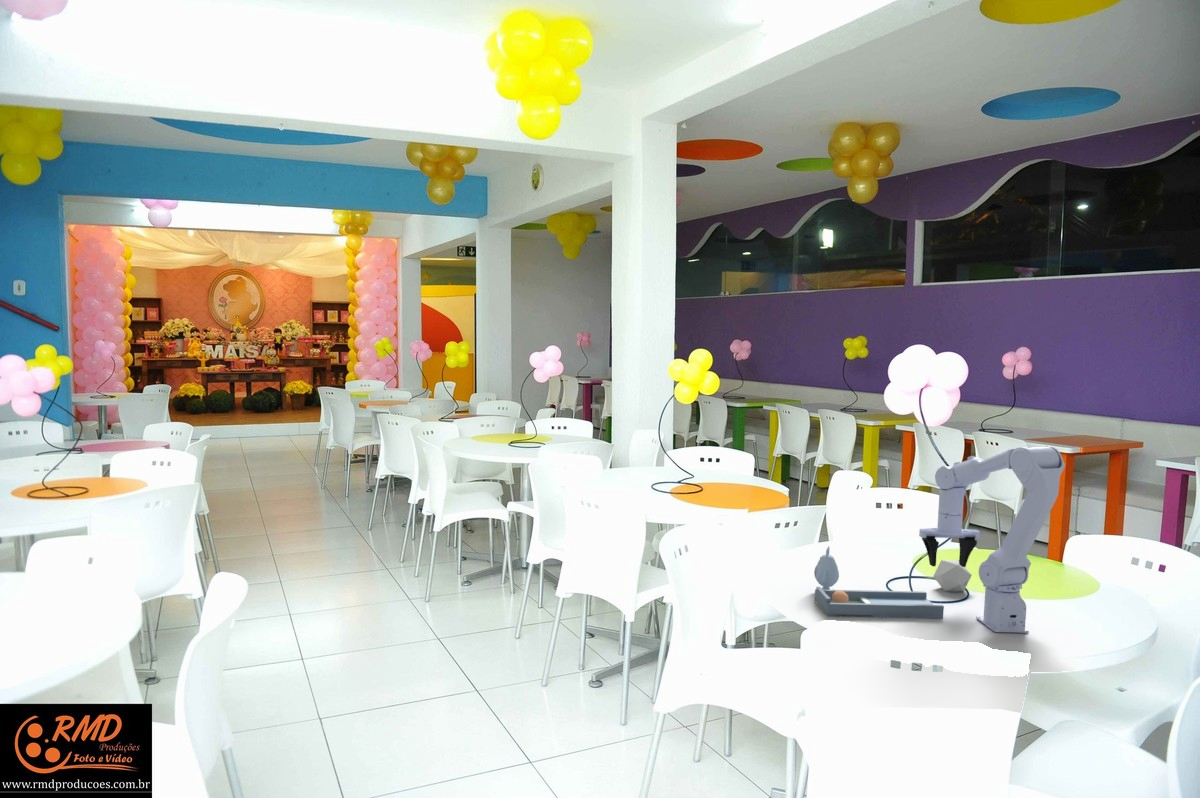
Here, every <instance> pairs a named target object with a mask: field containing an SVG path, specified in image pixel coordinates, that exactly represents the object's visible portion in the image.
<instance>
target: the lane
mask: <svg viewBox="0 0 1200 798" xmlns="http://www.w3.org/2000/svg"><path fill="white" fill-rule="evenodd" d="M836 591H843V592H845V593H846V594H847V595H848V599H849V600H848V603H833V602H832V595H833V593H834V592H836ZM927 594H928V593H927V592H926V591H921V590H920V591H915V590H914V591H913V590H912V591H910V590H909V591H907V590H905V591H904V590H869V589H868V590H866V589H865V590H863V589H861V590H860V589H859V590H858V589H857V590H856V589H830V590H823V589H822V587H821V586H816V587H815V589H814V602H815V601H816V602H817V603H816V602H815V603H816V605H817V604H818V605H819V606H818V605H817V606H818V607H819V608H820V610H821V611H822V612H823V613H824V615H825V616H826V615H827V616H826V617H840V616H841V618H842V617H843V618H844V617H846V618H848V617H850V618H851V617H852V618H858V617H859V618H895V619H896V618H899V619H902V618H903V619H904V618H905V619H907V618H908V619H909V618H910V619H944V612H945V611H944V610H945V606H944V605H943V604H934V603H933V602H931V601H930V600H929V599H928V598H927ZM911 617H913V618H911Z"/></svg>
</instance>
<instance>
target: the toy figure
mask: <svg viewBox="0 0 1200 798" xmlns="http://www.w3.org/2000/svg"><path fill="white" fill-rule="evenodd" d="M813 574H814V578H815V580H816V581H817V583H818V584H819V586H820V587H821V586H822V587H821V588H822V589H823V590H831V589H830V588H831V587H833V586H834V585H835V584H836V583H837V582H838V581H839V577H840V573H839V567H838V564H837V562H836V559H835V557H834V556H833V555H831V554H830V546H829V545H828V546H827V548H826V551H825V554H823V555H821V556H820V557H819V560H818V562H817V564H816V566H815V567H814V573H813Z"/></svg>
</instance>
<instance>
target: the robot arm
mask: <svg viewBox="0 0 1200 798" xmlns="http://www.w3.org/2000/svg"><path fill="white" fill-rule="evenodd" d="M1065 467H1066V464H1065V462H1064V459H1063V456H1062V453H1061V452H1060V451H1059V449H1057V448H1056V447H1055V446H1051V445H1046V446H1036V447H1024V446H1019V447H1016V448H1010V449H1008V450H1006V451H1003V452H1001V453H997V454H994V455H992V456H990V457H987V458H985V459H984V458H981V457H978V456H977V457H976V456H974V455H973V456H972V455H971V456H968V457H967V460H964V461H962V462H960V461H955V462H954V463H953V465H950V466H946V465H942V466H941V467H938V468H937V470H936V471H935V474H934V480H935V484H936V485H937V487H939V491H938V509H937V510H938V513H937V527H931V528H930V527H929V528H919V534H918V535H919V537H920V538H921V540H922V542H923V544H924V546H925V548H926V552H927V556H928V561H929V565H930V566H932V567H936V565H937V553H938V547H939V544H940V542H939V541H938V540H937V538H940V539H942V538H943V539H948V538H950V539H958V542H959V543H958V544H959V558H958V560H959V565H961V566H962V567H966V568H967V563H968V561H969V558H970V555H971V553H972V552H973V550H974V549H975V548H976V546H977V544H978V540H980V534H981V532H980V531H979V530H978V529H965V528H963V517H964V500H965V498H964V497H965V496H966V494H967V489H968V487H969V486H970V485H973V484H976V483H979V482H981V481H985V480H986V479H988V478H989V477H990V475H991V474H990V473H993V472H997V471H1002V470H1006V469H1008V470H1011V471H1013V473H1014V475H1015V476H1016V477H1017V479H1018V481H1019V482H1020V483H1021V485H1022V487H1023V488H1024V489H1025V490H1027V494H1026V496H1025V499H1024V500H1023V501H1022V504H1021V506H1020V508H1019V510H1018V512H1017V514H1016V516H1015V518H1014V521H1013V522H1012V524H1011V526H1010V527H1009V530H1008V531H1007V534H1006V536H1005V538H1004V540H1003V542H1002V544H1001V546H1000V547H998V548H997V549H996V550H994V551H993V552H991V553H990V554H989V555H988V557H987V559H986V560H984V561H982V562H981V563H980V565H979V568H978V576H979V579H980V581H981V583H982V584H983V585H982V586H983V587H984V589H985V591H984V601H983V602H984V605H983V615H976V616H975V618H976V619H977V620H978V621H980V623H982V624H984V625H985V626H986V627H987V628H989V629H990V630H992V631H993V632H995V633H1022V634H1023V633H1024V634H1028V633H1029V632H1030V631H1029V629H1027V628H1026V619H1027V603H1026V602H1025V601H1024V600H1025V599H1023V598H1022V596H1021V594H1020V593H1021V590H1022V588H1023V584H1026V583H1027V581H1028V579H1029V569H1030V567H1031V564H1032V561H1030V559H1029V558H1028V554H1029V552H1030V550H1031V548H1032V546H1033V545H1034V542H1035V541H1036V538H1037V536H1038V535H1039V533H1040V532H1041V529H1042V527H1043V525H1044V523H1045V522H1046V520H1047V517H1048V516H1049V514H1050V512H1051V511H1052V508H1053V506H1054V505H1055V502H1056V501H1057V498H1058V496H1059V493H1060V492H1059V491H1060V490H1059V489H1060V481H1061V475H1062V473H1063V472H1064V470H1065Z"/></svg>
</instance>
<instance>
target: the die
mask: <svg viewBox="0 0 1200 798" xmlns="http://www.w3.org/2000/svg"><path fill="white" fill-rule="evenodd" d="M933 578H934V579H935V581H936V582H937V583H938V585H939V586H940V588H942V590H943V591H944V592H956V591H965V589H966V588H967V586H968V584H969V582H970V580H971V578H972V574H971V572H970V571H969V569H968V568H967V566H966V567H962V566H961V565H959V559H958V560H957V559H952V560H951V559H950V560H949V559H941V560H940V561H939V564H938V565H937V568H936V569H935V572H934V574H933Z"/></svg>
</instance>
